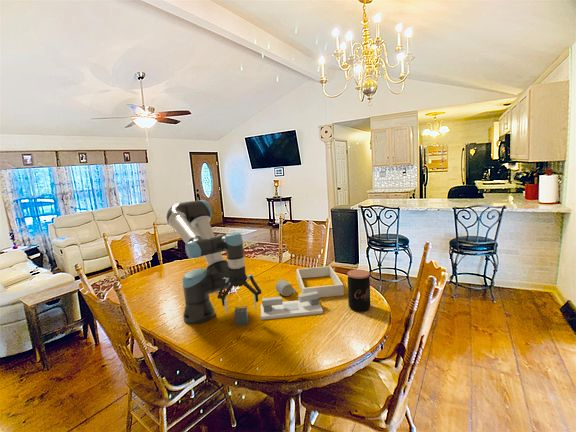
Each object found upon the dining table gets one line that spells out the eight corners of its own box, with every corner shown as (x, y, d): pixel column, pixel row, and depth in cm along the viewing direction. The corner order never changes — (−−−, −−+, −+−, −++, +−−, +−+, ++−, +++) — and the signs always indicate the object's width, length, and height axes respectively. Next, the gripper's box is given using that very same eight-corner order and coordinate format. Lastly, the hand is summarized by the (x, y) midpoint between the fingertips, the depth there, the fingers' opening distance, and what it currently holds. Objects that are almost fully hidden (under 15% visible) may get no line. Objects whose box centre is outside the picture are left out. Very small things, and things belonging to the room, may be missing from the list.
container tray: (303, 299, 171) (303, 288, 170) (297, 278, 202) (296, 269, 201) (343, 295, 172) (343, 284, 171) (330, 274, 204) (330, 265, 203)
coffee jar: (354, 314, 150) (353, 278, 147) (344, 304, 161) (343, 271, 158) (374, 310, 153) (373, 274, 150) (363, 301, 163) (362, 267, 160)
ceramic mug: (283, 298, 173) (282, 285, 172) (275, 293, 180) (275, 281, 178) (299, 293, 178) (298, 280, 177) (291, 289, 185) (291, 276, 184)
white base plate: (261, 319, 151) (259, 306, 150) (261, 306, 165) (260, 294, 164) (322, 313, 153) (322, 299, 152) (317, 301, 167) (317, 288, 166)
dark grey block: (235, 326, 147) (234, 310, 145) (236, 320, 152) (235, 305, 151) (247, 325, 147) (246, 309, 146) (248, 319, 152) (246, 304, 151)
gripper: (207, 271, 140) (213, 316, 143) (263, 266, 142) (268, 310, 145) (210, 266, 148) (215, 309, 151) (263, 261, 149) (267, 303, 153)
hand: (241, 310), depth 148 cm, fingers open, 13 cm apart
